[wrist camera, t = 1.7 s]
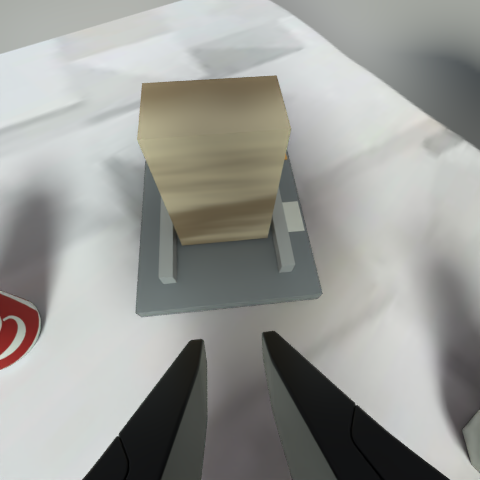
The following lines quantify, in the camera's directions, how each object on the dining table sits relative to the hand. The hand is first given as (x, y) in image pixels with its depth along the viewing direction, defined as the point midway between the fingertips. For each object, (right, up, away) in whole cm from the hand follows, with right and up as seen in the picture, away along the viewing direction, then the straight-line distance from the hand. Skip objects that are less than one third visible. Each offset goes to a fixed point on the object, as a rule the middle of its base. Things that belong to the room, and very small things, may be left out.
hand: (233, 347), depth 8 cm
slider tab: (-1, +5, +15) cm, 15 cm away
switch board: (-2, +8, +18) cm, 20 cm away
